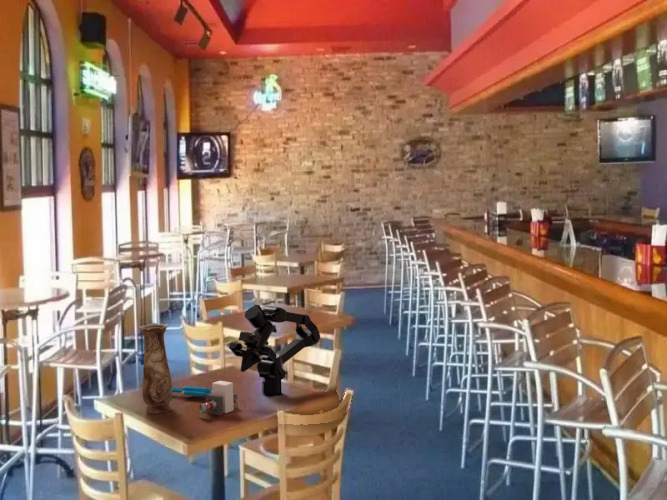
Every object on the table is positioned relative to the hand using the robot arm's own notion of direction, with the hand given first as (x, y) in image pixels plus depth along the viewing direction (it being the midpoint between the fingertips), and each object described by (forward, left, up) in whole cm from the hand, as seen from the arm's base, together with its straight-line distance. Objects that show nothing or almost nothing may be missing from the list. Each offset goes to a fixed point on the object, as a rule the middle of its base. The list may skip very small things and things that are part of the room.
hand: (241, 371), depth 287 cm
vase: (+29, -4, -12) cm, 32 cm away
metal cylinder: (+10, +7, -12) cm, 17 cm away
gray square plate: (+12, +8, -12) cm, 19 cm away
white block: (+8, +6, -12) cm, 16 cm away
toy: (+15, -16, -13) cm, 25 cm away
